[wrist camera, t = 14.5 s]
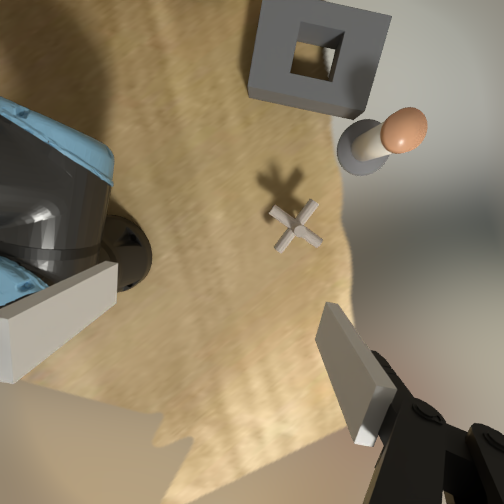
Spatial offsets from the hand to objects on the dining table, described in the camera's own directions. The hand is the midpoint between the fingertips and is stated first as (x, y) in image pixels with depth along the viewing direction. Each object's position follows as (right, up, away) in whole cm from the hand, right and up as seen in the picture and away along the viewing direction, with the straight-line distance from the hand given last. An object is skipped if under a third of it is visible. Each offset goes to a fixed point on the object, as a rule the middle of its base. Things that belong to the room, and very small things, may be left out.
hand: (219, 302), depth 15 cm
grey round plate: (+21, +21, +26) cm, 40 cm away
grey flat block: (+12, +33, +24) cm, 42 cm away
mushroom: (+21, +21, +26) cm, 40 cm away
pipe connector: (+10, +9, +30) cm, 33 cm away
